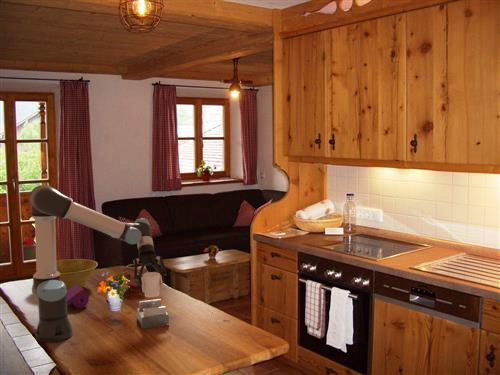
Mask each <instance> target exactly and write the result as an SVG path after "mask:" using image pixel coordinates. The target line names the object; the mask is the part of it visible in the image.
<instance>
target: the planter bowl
mask: <svg viewBox="0 0 500 375" xmlns="http://www.w3.org/2000/svg"><path fill="white" fill-rule="evenodd" d="M56 263H57V271H58V272H59V273H60V279H61V281H62V282H64V283H65V285H66V289H67V291H68V290H69V289H71V288H72V287H73V286H75V285H77V286H79V287H81V288H84V287H85V286H86V284H87V282H88V281H89V278H90V276H92V275H93V274H94V273H95V270H96V268H97V267H98V265H99V264H98V262H97V261H95V260H92V259H84V258H74V259H73V258H70V259H59V260H56Z"/></svg>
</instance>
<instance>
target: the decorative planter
mask: <svg viewBox="0 0 500 375" xmlns="http://www.w3.org/2000/svg"><path fill="white" fill-rule="evenodd" d="M141 266H142V263H137V275H139V273H140V270H141ZM123 271H124V272H123V278H124V277H126V278H127V279H128V280H130V282H128V283H127V282H126V285H127V287H128V286H130V290H129V291H132V292H143V291H142V285H139V281H138V279H134V263H132V264H128V265H126V266H125V267H124V270H123ZM148 272H149V271H148V269H147V266H145V267H144V270H143V273H142V276H141V277H143V274H144V273H148Z"/></svg>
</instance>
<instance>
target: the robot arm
mask: <svg viewBox="0 0 500 375" xmlns="http://www.w3.org/2000/svg"><path fill="white" fill-rule="evenodd" d="M28 201H29V204H30V216H31V218H32V219H33V220H34V231H35V232H34V235H35V263H36V265H35V266H36V269H35V270H36V272H35V273H34V274H33V275H32V279H33V280H32V287H31V292H32V296H33V298H34V299H35V301H36V303H37V308H38V324H37V327H36V331H35V339H36V341H37V342H40V343H57V342H61V341H64V340H67V339H69V338H70V337H72V336H73V332H74V331H73V327H72V324H71V321H70V319H69V314H68V305H67V295H66V293H67V289H66V285H65V283H64V282H62V281H61V279H60V273H59V272H58V271H57V263H56V261H57V237H56V234H57V233H56V232H57V231H56V230H57V229H56V218H59V219H60V220H64V219H68V220H70V221H73V222H76V223H78V224H80V225H83V226H86V227H88V228H90V229H93V230H96V231H98V232H101V233H103V234H105V235H108V236H110V237H111V238H113V239H118V240H120V241H122V242H123V241H124V242H125V243H127V244H129V245H137V251H138V257H137V258H136V257H133V259H132V261H133V263H132V264H134V279H138V281H139V285H142V291H141V292H142V293H144V292H145V287H144V280H143V277H141V276H142V273H143V270H144V267H145V266H146V267H147V266H151V267H152V268H153V269H154V270H155V272H158V273H160V291H163V290H164V284H165V277H166V276H167V274H168V270H167V268H166V266H165V263H164V260H163V255H159V256H158V255H156V252H155V246H154V241H153V236H152V235H153V234H152V227H151V225H150V221H149V220H148V219H147V218H138V219H136V220H135V221H134V223H133V222H122V221H120V220H117V219H115V218H114V217H110V216H108V215H107V214H106V215H105V214H103V213H101V212H98V211H96V210H94V209H91V208H89V207H86V206H85V205H81V204H80V203H77V202H74V201H73V198H71V197H69V196H66V195H65V194H63V193H61V192H60V191H59V190H57V189H56V188H54V187H53V186H51V185H48V184H40V185H37V186H35V187H34V188H33V189H32V190H31V191H30V193H29V196H28ZM156 261H158V263H159V265H158V263H157V262H156ZM139 262H140V264H142V266H141V270H140V273H139V275H137V264H139ZM164 276H165V277H164Z"/></svg>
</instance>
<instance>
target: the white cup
mask: <svg viewBox="0 0 500 375" xmlns="http://www.w3.org/2000/svg"><path fill="white" fill-rule="evenodd" d="M143 280H144V287H145V292H143V293H144V297H145V298H156V297H159V296H160V290H161V287H160V273H158V272H157V271H152V272H151V271H148V273H144V274H143Z"/></svg>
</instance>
